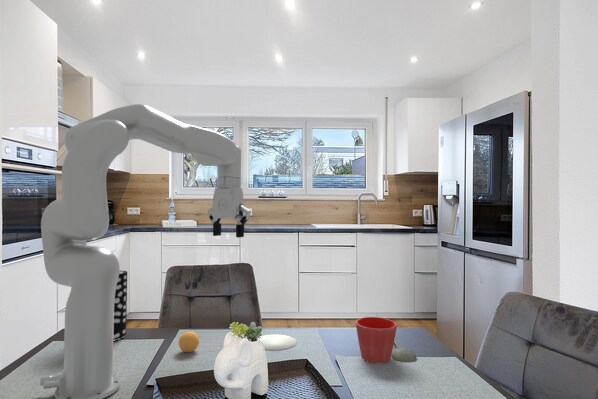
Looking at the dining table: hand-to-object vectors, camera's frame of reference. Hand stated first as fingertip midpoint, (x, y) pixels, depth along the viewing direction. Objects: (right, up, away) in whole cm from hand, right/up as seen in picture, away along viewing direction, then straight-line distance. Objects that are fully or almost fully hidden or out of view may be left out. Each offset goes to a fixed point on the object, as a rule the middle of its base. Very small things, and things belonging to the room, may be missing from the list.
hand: (228, 236), depth 123 cm
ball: (-8, -28, -16) cm, 33 cm away
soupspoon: (+52, -32, -11) cm, 62 cm away
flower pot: (+44, -32, -19) cm, 57 cm away
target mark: (+16, -31, -8) cm, 36 cm away
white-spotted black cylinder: (-35, -31, -5) cm, 47 cm away
